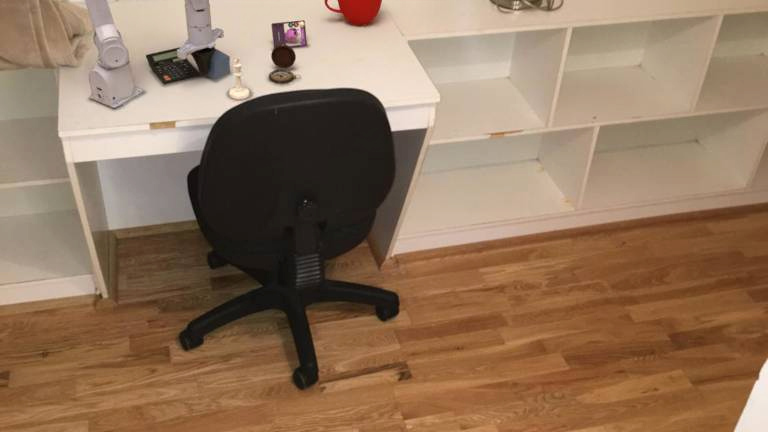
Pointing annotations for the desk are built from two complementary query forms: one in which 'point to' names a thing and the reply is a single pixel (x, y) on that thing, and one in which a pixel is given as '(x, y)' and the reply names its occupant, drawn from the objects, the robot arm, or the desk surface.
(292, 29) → the purple printed box
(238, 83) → the chess piece
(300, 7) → the desk surface
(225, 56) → the slate block
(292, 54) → the compass
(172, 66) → the calculator
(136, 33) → the desk surface
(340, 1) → the ceramic cup
